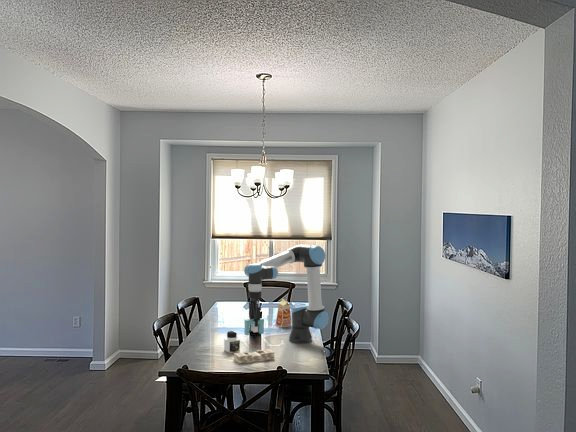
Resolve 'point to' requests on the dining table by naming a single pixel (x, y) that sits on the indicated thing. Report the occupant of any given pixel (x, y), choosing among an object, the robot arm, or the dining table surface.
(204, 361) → the dining table surface
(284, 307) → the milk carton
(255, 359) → the cream toy brick
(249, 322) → the teal arch block
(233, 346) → the medicine bottle
